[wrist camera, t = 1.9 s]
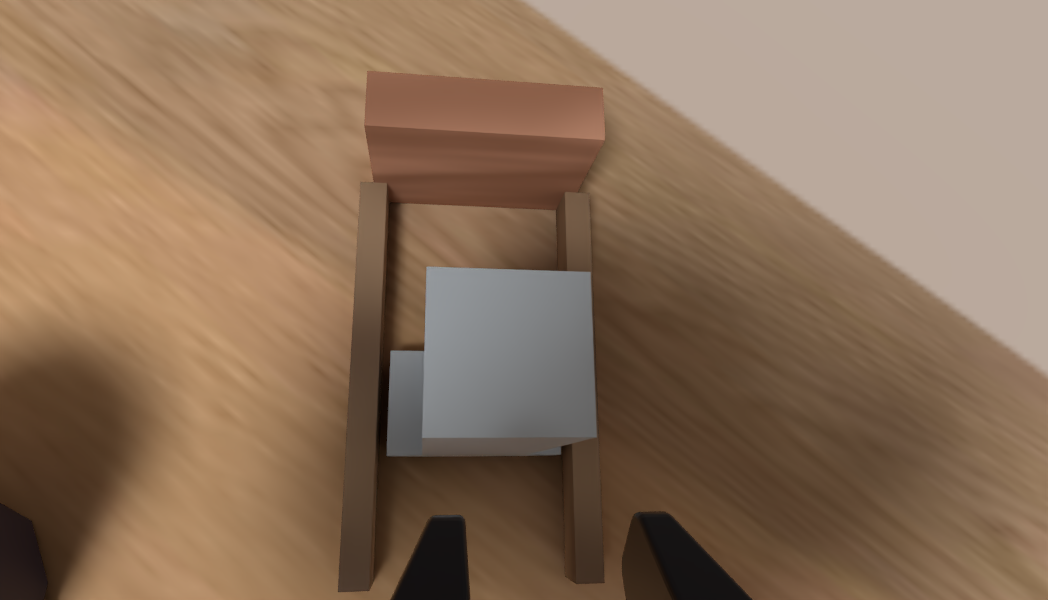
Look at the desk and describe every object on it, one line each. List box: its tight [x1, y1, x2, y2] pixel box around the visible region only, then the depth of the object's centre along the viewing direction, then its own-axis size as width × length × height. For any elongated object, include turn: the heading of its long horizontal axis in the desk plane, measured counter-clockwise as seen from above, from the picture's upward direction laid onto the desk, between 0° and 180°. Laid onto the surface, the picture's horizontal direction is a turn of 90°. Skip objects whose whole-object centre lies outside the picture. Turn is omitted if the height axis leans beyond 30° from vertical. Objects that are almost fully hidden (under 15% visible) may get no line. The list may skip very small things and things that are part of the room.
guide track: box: [338, 71, 605, 592], centre depth 19 cm, size 13×7×5 cm, turn 1°
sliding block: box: [386, 267, 597, 457], centre depth 16 cm, size 3×5×9 cm, turn 91°
